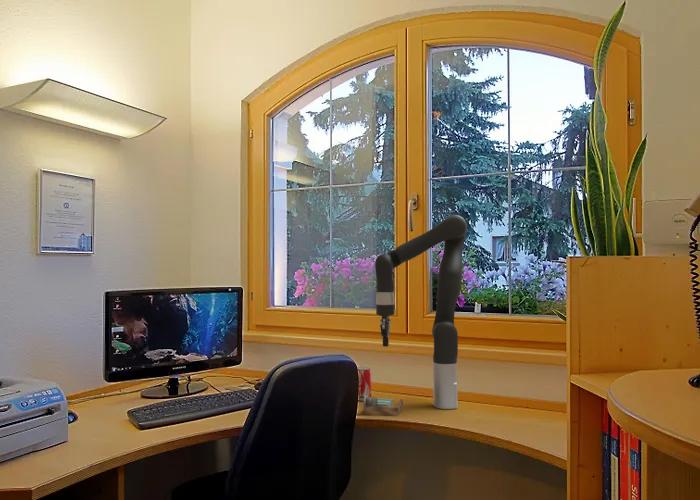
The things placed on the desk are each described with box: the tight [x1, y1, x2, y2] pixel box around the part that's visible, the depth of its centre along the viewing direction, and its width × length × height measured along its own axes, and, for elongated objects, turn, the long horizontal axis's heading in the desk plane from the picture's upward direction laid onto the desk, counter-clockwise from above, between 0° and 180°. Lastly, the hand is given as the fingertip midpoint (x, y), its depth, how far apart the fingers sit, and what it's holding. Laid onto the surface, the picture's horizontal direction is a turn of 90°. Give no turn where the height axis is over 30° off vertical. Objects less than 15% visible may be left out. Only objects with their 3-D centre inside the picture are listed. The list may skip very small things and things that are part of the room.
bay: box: [360, 395, 404, 417], centre depth 209 cm, size 14×17×7 cm
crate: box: [376, 397, 394, 407], centre depth 209 cm, size 8×8×4 cm
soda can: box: [357, 366, 372, 402], centre depth 227 cm, size 7×7×13 cm
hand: (385, 346), depth 221 cm, fingers closed
